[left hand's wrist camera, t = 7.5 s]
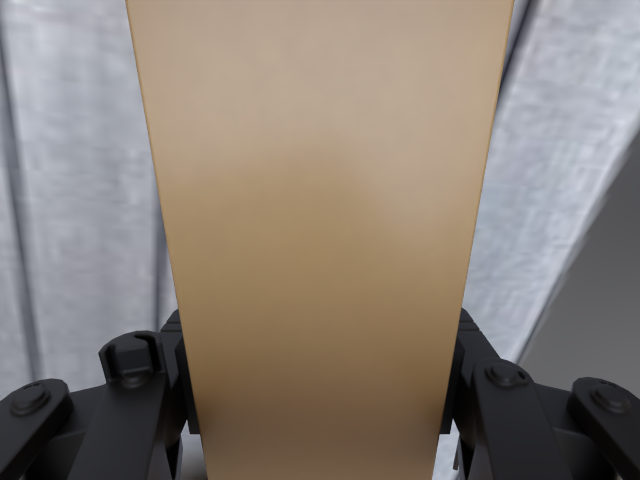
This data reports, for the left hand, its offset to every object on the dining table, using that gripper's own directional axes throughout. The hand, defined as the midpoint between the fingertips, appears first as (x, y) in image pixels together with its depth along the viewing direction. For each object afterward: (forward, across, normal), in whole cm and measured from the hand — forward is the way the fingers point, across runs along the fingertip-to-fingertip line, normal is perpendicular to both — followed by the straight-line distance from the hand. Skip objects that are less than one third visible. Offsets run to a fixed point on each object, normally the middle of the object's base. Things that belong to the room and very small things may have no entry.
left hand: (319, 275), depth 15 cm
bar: (0, 0, -10) cm, 11 cm away
